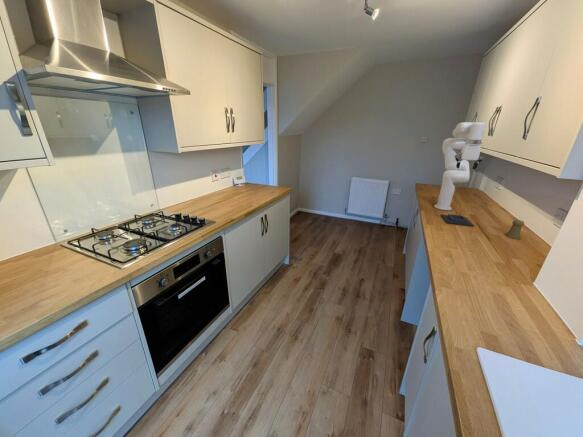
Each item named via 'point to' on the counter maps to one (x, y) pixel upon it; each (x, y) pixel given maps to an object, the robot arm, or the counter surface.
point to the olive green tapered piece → (515, 229)
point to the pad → (457, 220)
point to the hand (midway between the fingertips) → (465, 168)
